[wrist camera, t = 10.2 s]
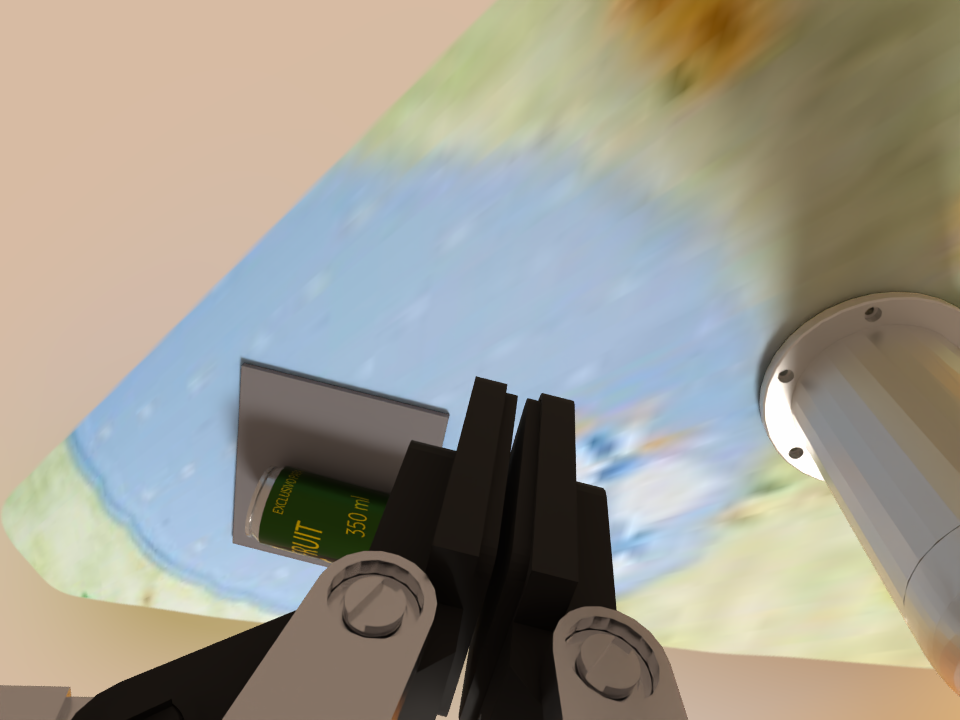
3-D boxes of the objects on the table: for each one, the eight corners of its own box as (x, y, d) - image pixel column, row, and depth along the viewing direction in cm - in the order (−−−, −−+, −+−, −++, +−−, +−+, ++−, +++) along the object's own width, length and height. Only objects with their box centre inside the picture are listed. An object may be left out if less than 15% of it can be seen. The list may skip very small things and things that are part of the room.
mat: (449, 414, 43) (448, 417, 43) (409, 583, 50) (408, 587, 50) (244, 363, 43) (241, 365, 43) (235, 539, 50) (232, 543, 50)
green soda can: (432, 539, 48) (275, 496, 48) (445, 491, 45) (277, 446, 45) (415, 603, 44) (243, 556, 44) (429, 556, 40) (243, 505, 40)
